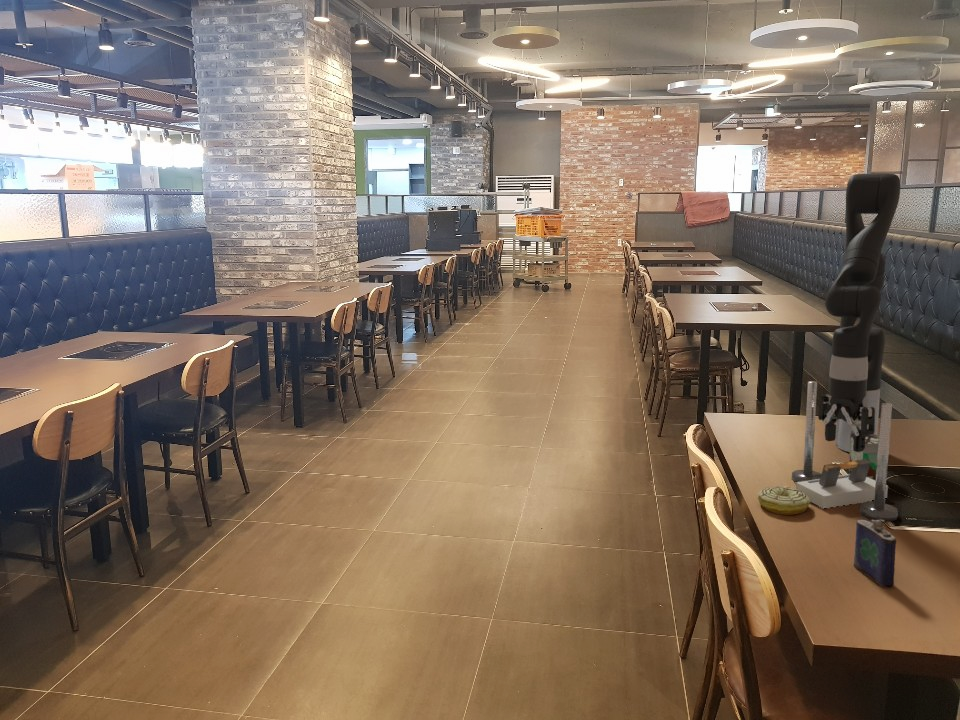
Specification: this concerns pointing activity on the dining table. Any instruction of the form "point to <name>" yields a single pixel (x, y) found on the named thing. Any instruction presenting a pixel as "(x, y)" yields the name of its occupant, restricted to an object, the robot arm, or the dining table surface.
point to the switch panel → (839, 492)
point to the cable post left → (808, 438)
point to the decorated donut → (783, 500)
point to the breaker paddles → (833, 470)
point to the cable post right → (881, 473)
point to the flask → (875, 552)
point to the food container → (866, 453)
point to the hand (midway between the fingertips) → (843, 445)
